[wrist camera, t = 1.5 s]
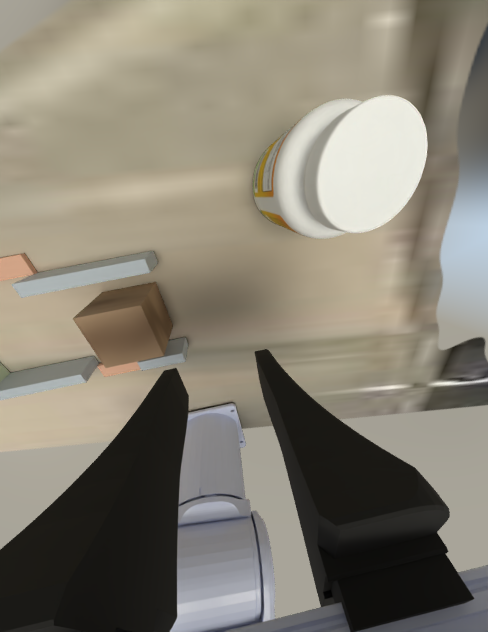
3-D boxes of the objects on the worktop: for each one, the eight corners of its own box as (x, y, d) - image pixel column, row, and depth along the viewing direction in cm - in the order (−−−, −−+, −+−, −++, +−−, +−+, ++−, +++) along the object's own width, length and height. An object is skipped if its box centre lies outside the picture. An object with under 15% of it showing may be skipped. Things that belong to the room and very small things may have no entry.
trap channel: (192, 356, 22) (190, 373, 20) (18, 392, 22) (-4, 414, 19) (145, 230, 16) (135, 236, 14) (-102, 276, 15) (-154, 290, 13)
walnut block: (173, 325, 20) (163, 356, 16) (126, 334, 20) (105, 367, 16) (155, 281, 18) (140, 305, 14) (102, 291, 18) (72, 318, 14)
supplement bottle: (329, 204, 17) (447, 213, 8) (267, 236, 17) (319, 274, 9) (311, 121, 14) (457, 12, 6) (239, 162, 15) (274, 119, 6)
